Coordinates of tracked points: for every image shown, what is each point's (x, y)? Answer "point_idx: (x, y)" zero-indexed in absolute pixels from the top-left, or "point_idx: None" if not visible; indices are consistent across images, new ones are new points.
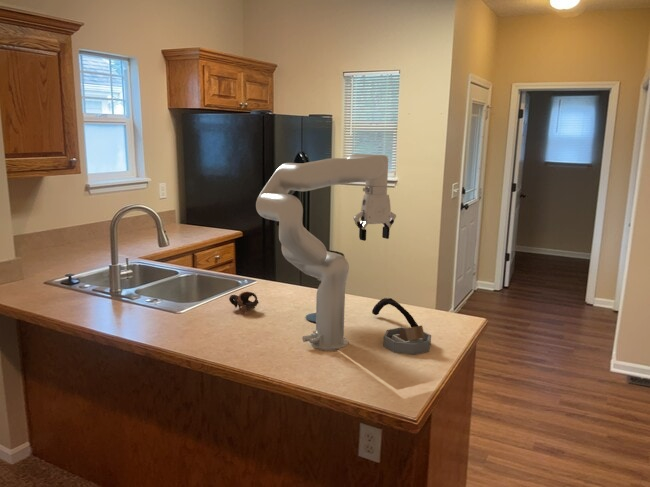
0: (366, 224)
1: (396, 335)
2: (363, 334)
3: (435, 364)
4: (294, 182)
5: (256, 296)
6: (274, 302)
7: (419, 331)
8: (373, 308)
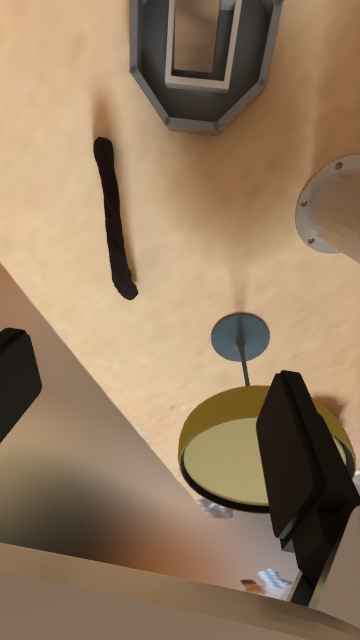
0: (349, 615)
1: (217, 81)
2: (237, 205)
3: None
4: None
5: None
6: None
7: None
8: (134, 294)
